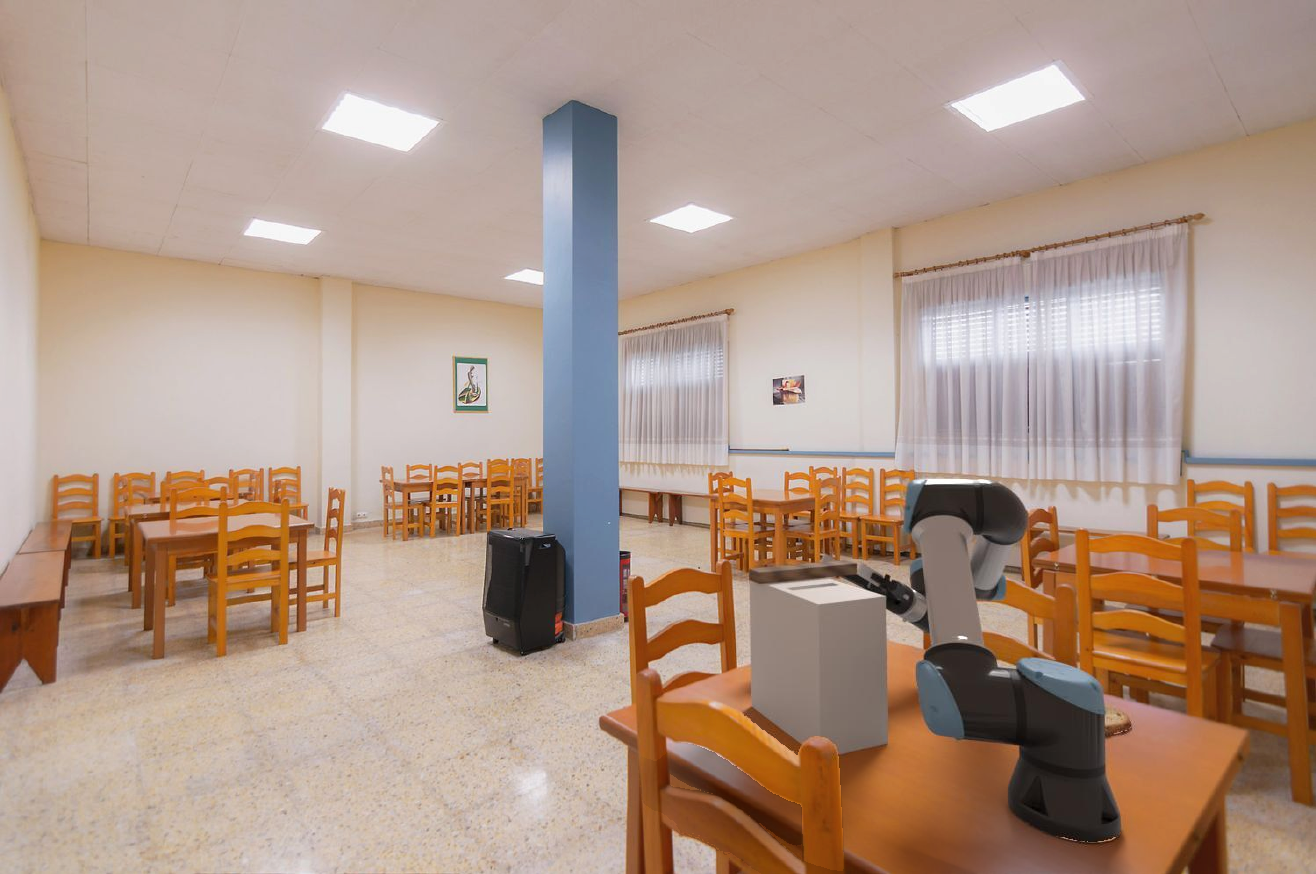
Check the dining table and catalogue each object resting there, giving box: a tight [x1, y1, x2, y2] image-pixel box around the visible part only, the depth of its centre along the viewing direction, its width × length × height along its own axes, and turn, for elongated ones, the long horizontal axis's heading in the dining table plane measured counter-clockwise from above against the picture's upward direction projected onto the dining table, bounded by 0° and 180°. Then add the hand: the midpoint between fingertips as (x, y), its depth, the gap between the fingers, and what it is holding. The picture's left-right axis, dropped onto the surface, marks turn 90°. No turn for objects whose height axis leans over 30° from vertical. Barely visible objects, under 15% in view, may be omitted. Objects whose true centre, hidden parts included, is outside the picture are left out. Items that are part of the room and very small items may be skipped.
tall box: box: [749, 577, 889, 756], centre depth 134 cm, size 16×26×29 cm, turn 21°
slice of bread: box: [1105, 704, 1133, 734], centre depth 134 cm, size 18×18×4 cm
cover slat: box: [748, 559, 858, 584], centre depth 144 cm, size 26×5×2 cm, turn 111°
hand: (840, 563), depth 148 cm, fingers open, 13 cm apart
